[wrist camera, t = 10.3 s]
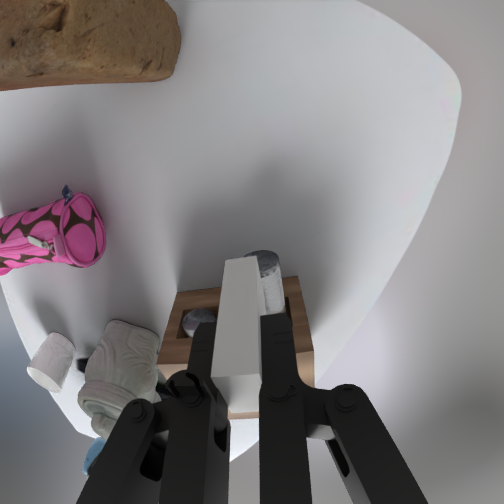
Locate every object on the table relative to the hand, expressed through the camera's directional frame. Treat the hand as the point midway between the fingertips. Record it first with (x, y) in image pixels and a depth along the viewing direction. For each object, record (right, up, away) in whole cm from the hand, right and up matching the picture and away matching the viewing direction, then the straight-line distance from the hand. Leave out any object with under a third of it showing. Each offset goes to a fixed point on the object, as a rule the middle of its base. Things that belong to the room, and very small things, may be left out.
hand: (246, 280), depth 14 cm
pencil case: (-28, +6, +17) cm, 33 cm away
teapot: (-20, -16, +30) cm, 39 cm away
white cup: (-38, -17, +30) cm, 52 cm away
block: (-11, +22, +7) cm, 26 cm away
